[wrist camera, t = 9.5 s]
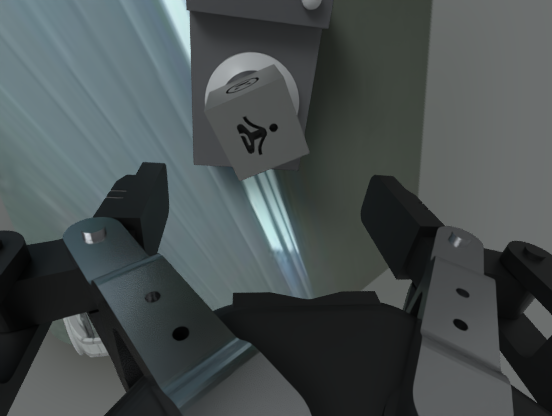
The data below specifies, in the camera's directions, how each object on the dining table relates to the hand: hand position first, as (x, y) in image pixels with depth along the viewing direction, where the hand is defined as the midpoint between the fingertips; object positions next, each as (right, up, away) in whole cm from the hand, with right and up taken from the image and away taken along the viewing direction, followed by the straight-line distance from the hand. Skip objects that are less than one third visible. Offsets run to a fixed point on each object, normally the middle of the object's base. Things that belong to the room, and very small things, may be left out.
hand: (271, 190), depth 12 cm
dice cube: (-1, +7, +11) cm, 13 cm away
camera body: (-2, +11, +15) cm, 19 cm away
